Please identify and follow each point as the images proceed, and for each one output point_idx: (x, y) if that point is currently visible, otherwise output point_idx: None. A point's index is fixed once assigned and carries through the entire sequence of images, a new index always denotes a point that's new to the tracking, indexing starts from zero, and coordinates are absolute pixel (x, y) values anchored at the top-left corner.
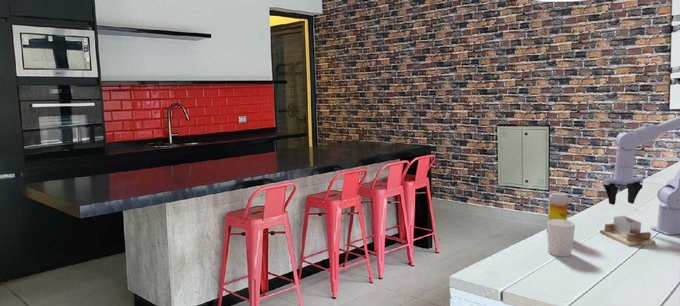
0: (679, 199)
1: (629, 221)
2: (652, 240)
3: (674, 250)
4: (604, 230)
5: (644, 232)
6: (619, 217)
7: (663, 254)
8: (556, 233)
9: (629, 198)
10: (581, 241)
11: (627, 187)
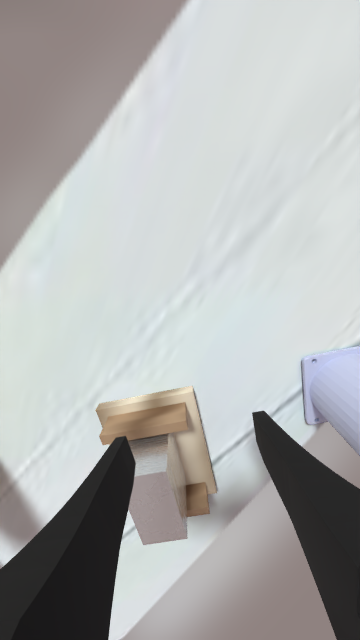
0: None
1: (149, 529)
2: (212, 488)
3: (234, 518)
4: (109, 412)
5: (192, 509)
6: (134, 488)
7: (191, 538)
8: None
9: (265, 445)
10: (21, 470)
11: (316, 513)
